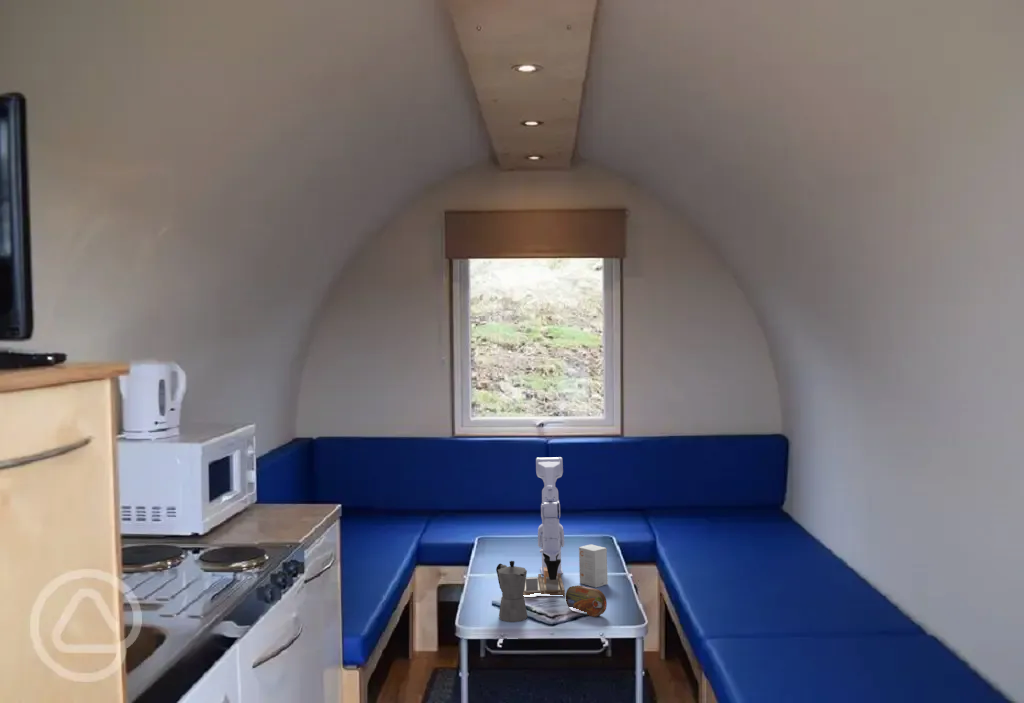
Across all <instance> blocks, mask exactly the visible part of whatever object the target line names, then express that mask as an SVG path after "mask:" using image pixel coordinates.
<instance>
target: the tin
mask: <svg viewBox="0 0 1024 703" xmlns="http://www.w3.org/2000/svg"><path fill="white" fill-rule="evenodd" d="M564 597H565V602H566V605H567V607H568V608H569V607H573V608H576V609H579V610H581V611H584V612H587V614H588V615H589V616H588V615H587V616H588V617H593V618H596V617H598V616H600V615H603V614H604V613H605V612H606V610H607V605H608V604H607V602H608V601H607V597H606V596H605V594H604V593H603V591H601V590H600V589H599V588H598V589H597V588H594V587H590V586H585V585H584V586H583V585H573V586H570V587H569V588H567V590H566V591H565V596H564Z"/></svg>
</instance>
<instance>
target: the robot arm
mask: <svg viewBox="0 0 1024 703" xmlns="http://www.w3.org/2000/svg"><path fill="white" fill-rule="evenodd" d="M563 464H564V463H563V457H561V456H558V457H557V456H556V457H536V458H535V472H536V476H537V478H540V479H541V480H542V481H543V485H544V486H543V488H542V490H541V504H540V517H541V524H540V525H538V527H537V546H538V547H539V548H541V549H539V553H541V566H540V567H539V569H540V574H541V576H542V575H543V576H544V567H547V570H548V574H549V579H550V580H556V577H558V573H560V574H561V575H563V574H564V570H563V568H562V548H564V547H565V532H564V526H563V525H562V524H561V523H560V518H561V504H560V499H559V490H558V487H556V482H557V480H558V479H560V478H562V476H563V473H564V468H563V467H564V465H563Z"/></svg>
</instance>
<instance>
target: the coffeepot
mask: <svg viewBox="0 0 1024 703" xmlns="http://www.w3.org/2000/svg"><path fill="white" fill-rule="evenodd" d="M495 570H496V575H497V579H498V584H499V585H498V586H499V589H500V590H501V594H502V596H501V598H500V605H499V613H498V617H499V619H500V620H501V621H503V622H507V623H517V622H523V621H525V620H526V619H527V618H528V612H527V606H526V600H525V598H524V596H523V592H524V591H525V582H526V577H527V575H528V574H527V573H528V570H527V569H526V567H521V566H515V561H514V560H510V561H509V566H507V565H506V564H502V563H499V564H497V566H496V569H495Z"/></svg>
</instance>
